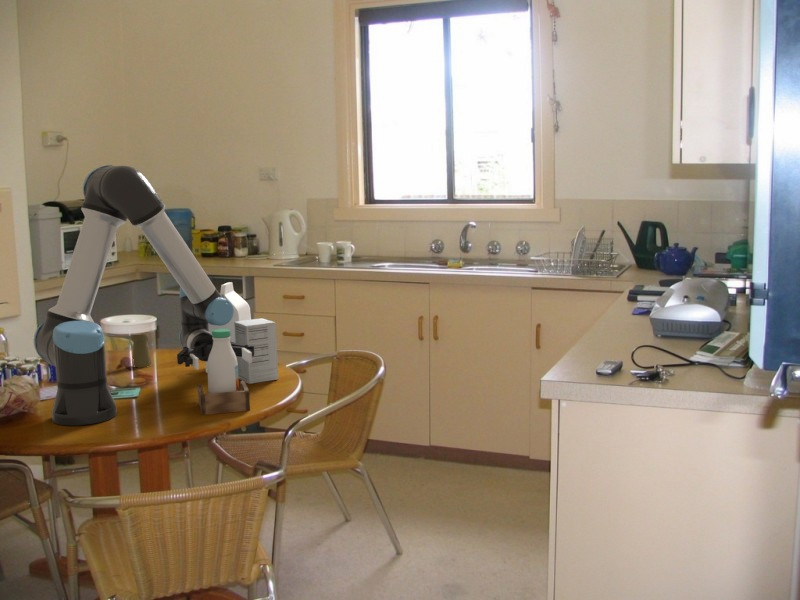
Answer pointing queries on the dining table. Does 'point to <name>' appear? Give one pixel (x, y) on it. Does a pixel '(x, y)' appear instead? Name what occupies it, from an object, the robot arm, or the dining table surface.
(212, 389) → the milk bottle
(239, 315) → the milk
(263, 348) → the supplement box
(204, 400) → the walnut U-rest
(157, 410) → the dining table surface
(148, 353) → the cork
